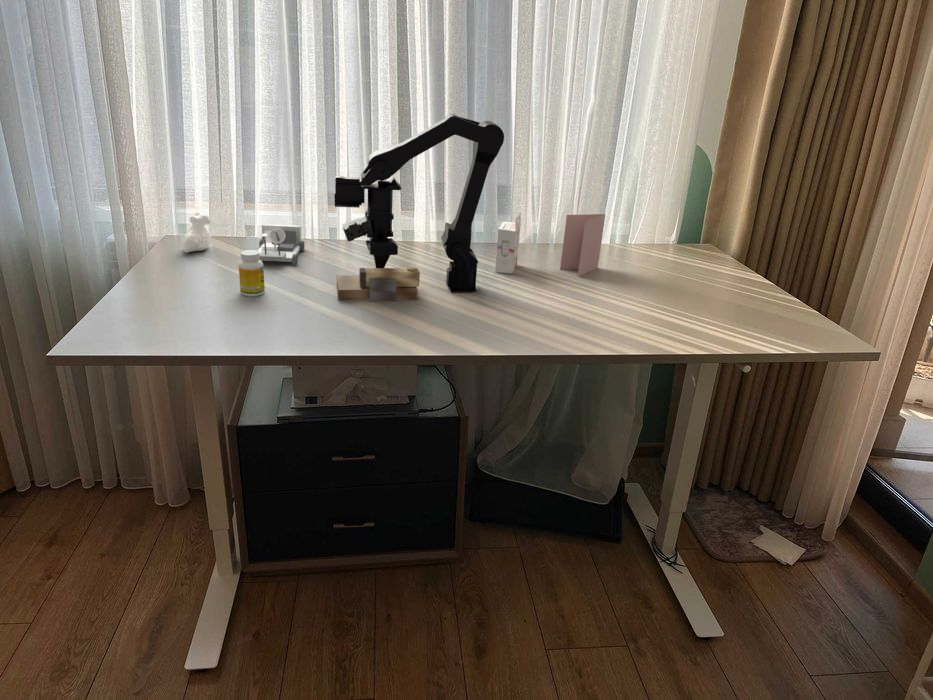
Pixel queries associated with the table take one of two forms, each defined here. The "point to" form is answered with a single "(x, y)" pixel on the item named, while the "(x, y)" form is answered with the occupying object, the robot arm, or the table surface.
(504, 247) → the ink cartridge box
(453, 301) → the table surface
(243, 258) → the supplement bottle
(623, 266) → the table surface
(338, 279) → the brown wooden block
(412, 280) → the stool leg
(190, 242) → the white tied sack
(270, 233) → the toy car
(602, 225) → the greeting card
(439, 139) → the robot arm
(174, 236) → the table surface
